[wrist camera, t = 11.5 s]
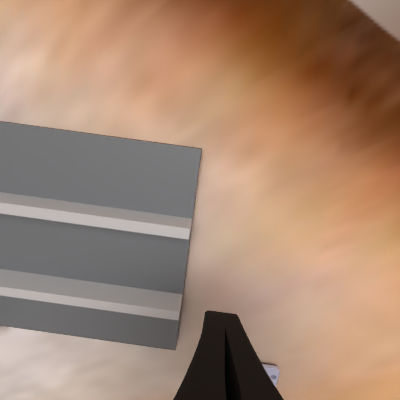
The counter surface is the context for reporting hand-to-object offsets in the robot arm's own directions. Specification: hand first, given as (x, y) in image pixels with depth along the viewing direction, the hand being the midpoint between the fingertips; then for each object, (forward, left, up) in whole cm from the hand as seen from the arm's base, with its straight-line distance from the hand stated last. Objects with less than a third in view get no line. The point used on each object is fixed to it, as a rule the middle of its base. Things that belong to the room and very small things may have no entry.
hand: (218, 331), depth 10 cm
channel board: (-2, +19, -9) cm, 21 cm away
